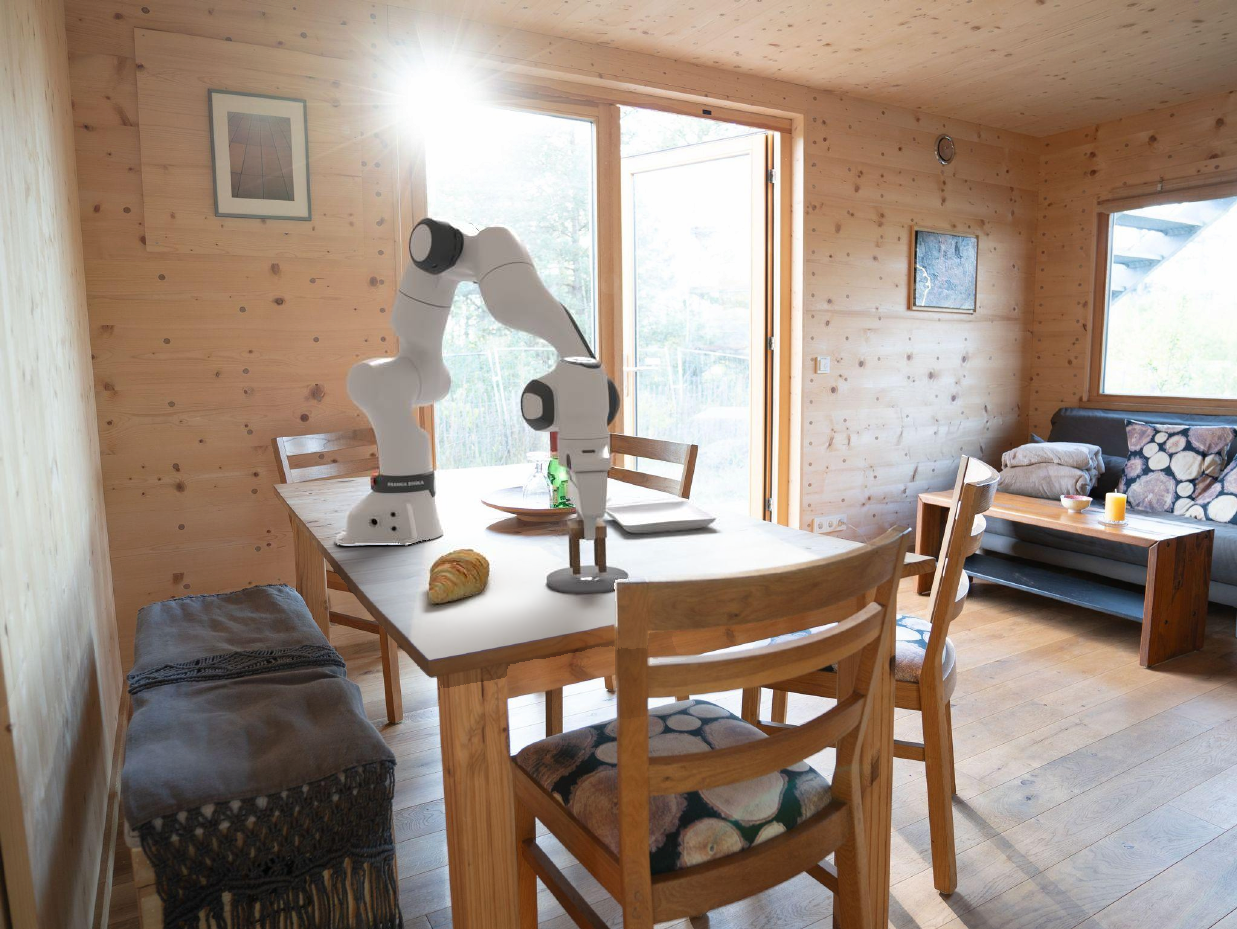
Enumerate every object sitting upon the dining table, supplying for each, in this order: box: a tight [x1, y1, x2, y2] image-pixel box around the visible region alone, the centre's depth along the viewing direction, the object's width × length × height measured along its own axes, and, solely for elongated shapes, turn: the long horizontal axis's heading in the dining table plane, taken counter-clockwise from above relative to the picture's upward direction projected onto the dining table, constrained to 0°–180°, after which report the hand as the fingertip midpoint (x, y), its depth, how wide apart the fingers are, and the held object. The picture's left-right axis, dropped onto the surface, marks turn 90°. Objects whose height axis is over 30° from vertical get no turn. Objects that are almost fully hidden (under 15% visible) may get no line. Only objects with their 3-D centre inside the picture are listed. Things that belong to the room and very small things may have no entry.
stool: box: [566, 518, 608, 575], centre depth 138 cm, size 6×6×8 cm
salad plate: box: [605, 500, 717, 535], centre depth 183 cm, size 21×21×3 cm
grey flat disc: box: [546, 564, 629, 595], centre depth 139 cm, size 14×14×1 cm
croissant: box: [427, 548, 490, 604], centre depth 136 cm, size 21×10×8 cm, turn 169°
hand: (586, 534), depth 138 cm, fingers closed on stool, 6 cm apart
